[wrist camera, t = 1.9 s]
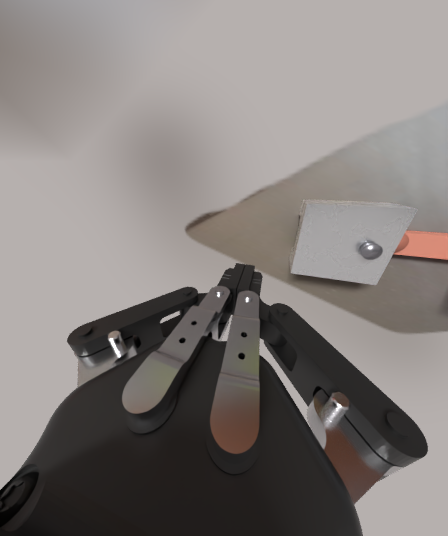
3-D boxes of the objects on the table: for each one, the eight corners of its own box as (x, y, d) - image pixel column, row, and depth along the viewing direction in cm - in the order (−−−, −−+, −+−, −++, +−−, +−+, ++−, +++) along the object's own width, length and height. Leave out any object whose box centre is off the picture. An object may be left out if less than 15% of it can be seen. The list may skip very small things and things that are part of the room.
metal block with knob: (391, 202, 20) (425, 210, 15) (360, 268, 24) (380, 289, 20) (302, 198, 22) (308, 205, 18) (288, 259, 27) (291, 276, 22)
